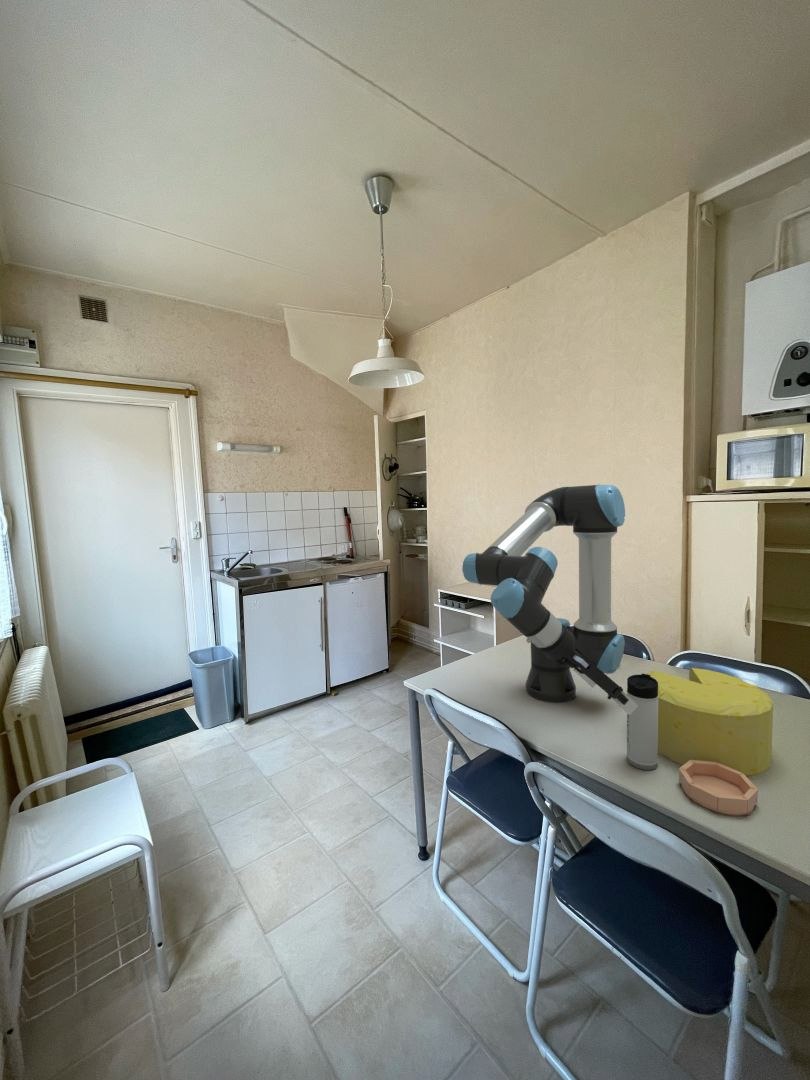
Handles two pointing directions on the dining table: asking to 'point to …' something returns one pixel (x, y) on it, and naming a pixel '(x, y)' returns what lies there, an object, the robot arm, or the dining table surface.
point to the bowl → (718, 787)
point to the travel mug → (643, 722)
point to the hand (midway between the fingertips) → (613, 695)
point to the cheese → (714, 720)
